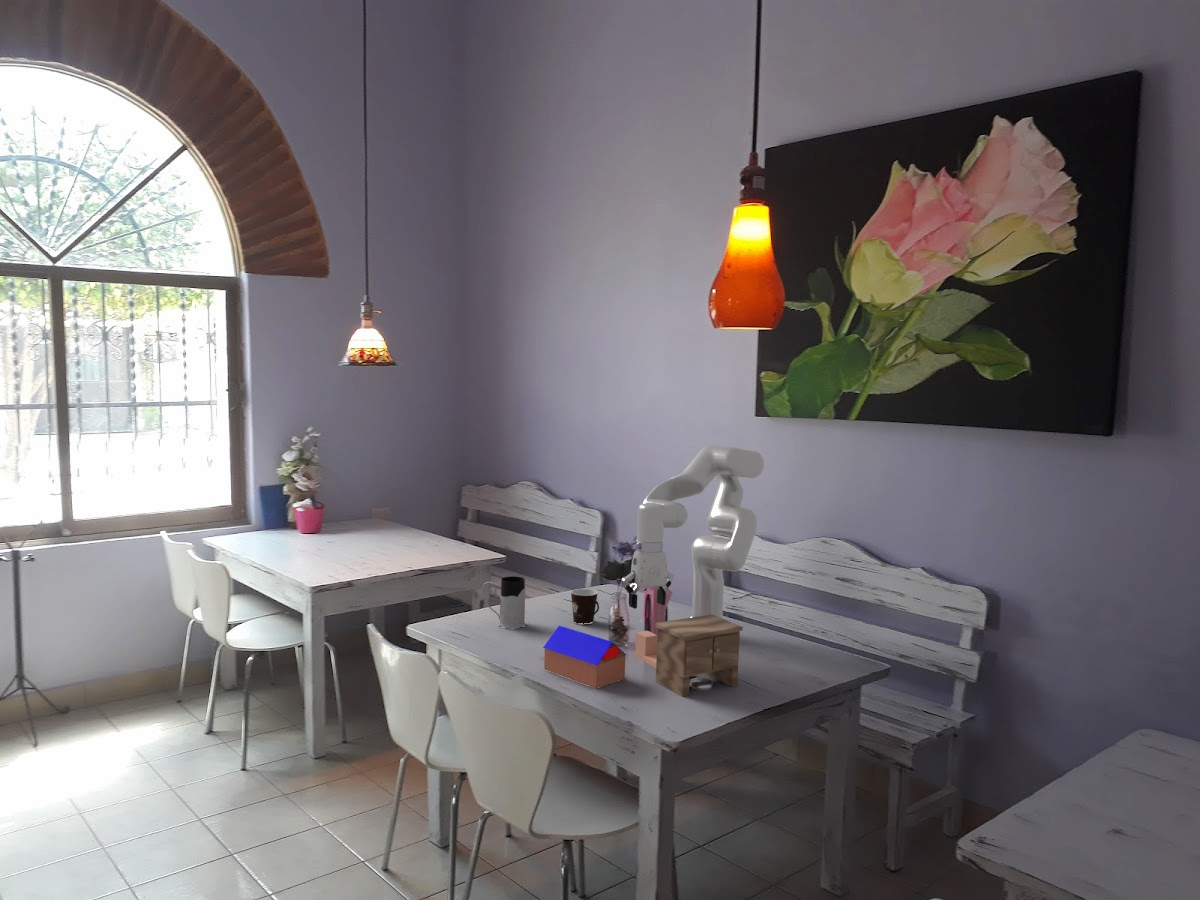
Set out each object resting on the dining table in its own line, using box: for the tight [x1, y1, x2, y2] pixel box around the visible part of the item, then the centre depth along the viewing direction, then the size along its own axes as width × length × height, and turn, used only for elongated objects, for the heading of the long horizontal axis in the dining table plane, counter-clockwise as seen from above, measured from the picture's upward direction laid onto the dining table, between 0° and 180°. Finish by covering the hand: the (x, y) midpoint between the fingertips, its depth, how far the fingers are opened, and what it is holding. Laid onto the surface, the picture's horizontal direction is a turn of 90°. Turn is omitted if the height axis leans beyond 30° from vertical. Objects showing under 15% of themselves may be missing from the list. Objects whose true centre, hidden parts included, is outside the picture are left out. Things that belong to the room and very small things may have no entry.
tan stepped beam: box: [634, 630, 694, 678], centre depth 254 cm, size 22×5×7 cm, turn 31°
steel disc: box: [689, 677, 714, 691], centre depth 239 cm, size 6×6×2 cm
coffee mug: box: [570, 588, 600, 624], centre depth 293 cm, size 12×9×10 cm
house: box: [542, 625, 627, 689], centre depth 245 cm, size 12×20×12 cm, turn 47°
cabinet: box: [654, 615, 744, 698], centre depth 240 cm, size 14×19×16 cm
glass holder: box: [481, 575, 526, 629], centre depth 288 cm, size 9×14×15 cm, turn 88°
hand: (646, 605), depth 259 cm, fingers open, 9 cm apart
